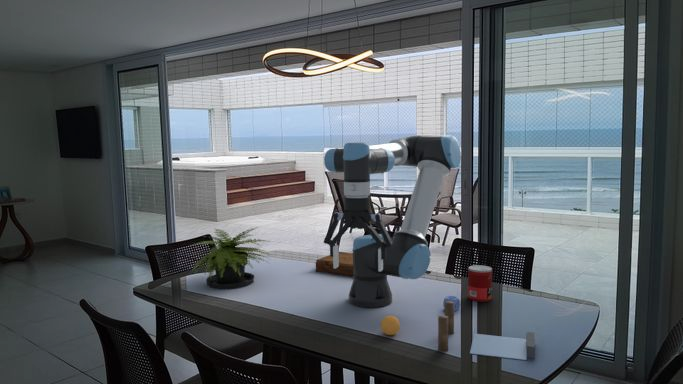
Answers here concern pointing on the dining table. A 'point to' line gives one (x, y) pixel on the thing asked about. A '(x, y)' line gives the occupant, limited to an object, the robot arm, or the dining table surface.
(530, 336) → the stopper wall
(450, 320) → the post
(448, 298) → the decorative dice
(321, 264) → the brown wooden block
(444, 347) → the post
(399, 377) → the dining table surface
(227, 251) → the fern plant
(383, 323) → the ball
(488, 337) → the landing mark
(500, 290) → the dining table surface
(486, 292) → the canned food
